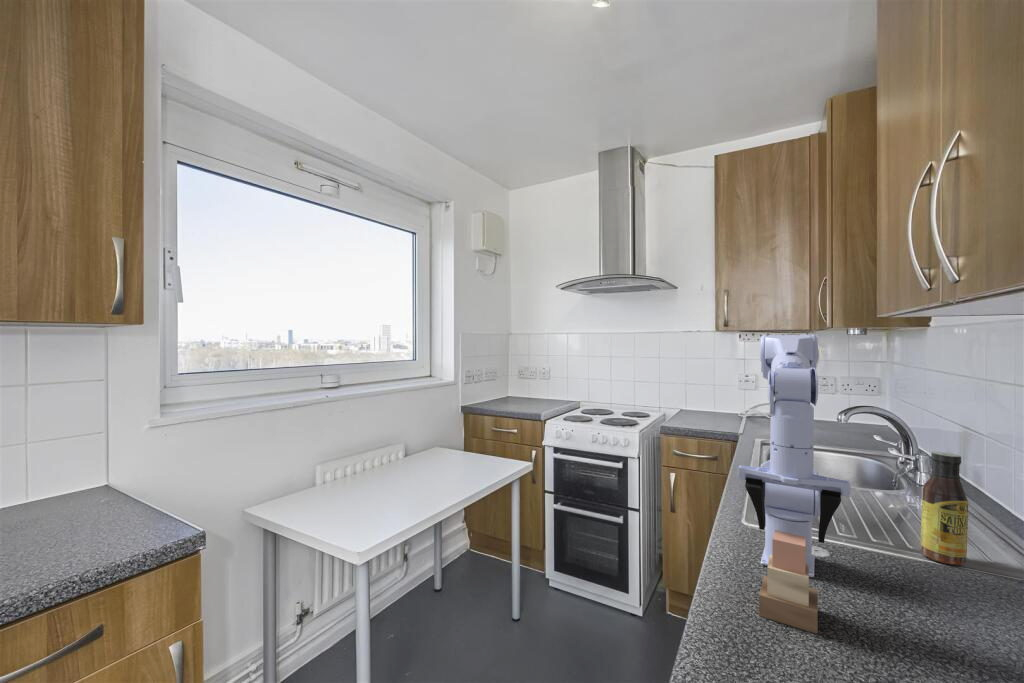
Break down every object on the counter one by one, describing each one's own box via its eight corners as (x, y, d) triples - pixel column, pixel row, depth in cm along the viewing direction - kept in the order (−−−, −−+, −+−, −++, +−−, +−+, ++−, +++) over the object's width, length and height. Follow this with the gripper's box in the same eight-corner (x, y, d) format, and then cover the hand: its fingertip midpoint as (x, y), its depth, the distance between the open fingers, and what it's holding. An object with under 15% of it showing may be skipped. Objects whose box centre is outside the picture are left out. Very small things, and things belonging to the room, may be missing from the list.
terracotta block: (774, 556, 68) (775, 530, 68) (805, 564, 66) (806, 536, 66) (772, 566, 65) (772, 539, 65) (805, 574, 62) (805, 546, 62)
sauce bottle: (944, 567, 80) (944, 457, 80) (911, 551, 86) (911, 449, 87) (978, 567, 80) (978, 457, 81) (943, 551, 87) (943, 450, 87)
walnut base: (763, 594, 70) (764, 575, 70) (817, 609, 66) (817, 589, 66) (759, 615, 64) (759, 594, 64) (817, 634, 60) (817, 611, 60)
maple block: (769, 580, 68) (769, 554, 69) (808, 590, 66) (808, 563, 66) (767, 595, 64) (767, 567, 64) (808, 606, 62) (808, 577, 62)
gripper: (735, 442, 70) (734, 530, 69) (851, 456, 61) (851, 556, 61) (742, 436, 75) (741, 517, 75) (848, 448, 67) (848, 539, 67)
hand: (790, 534), depth 68 cm, fingers open, 7 cm apart
